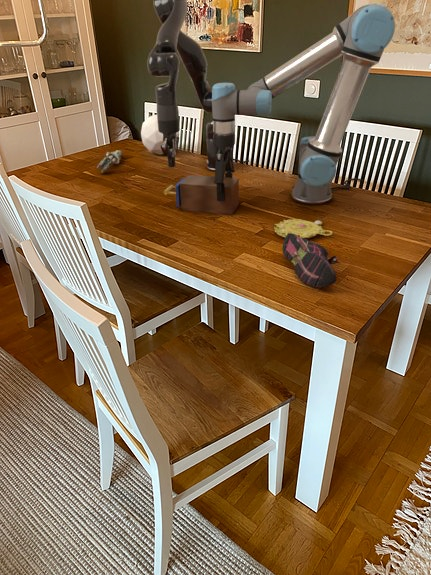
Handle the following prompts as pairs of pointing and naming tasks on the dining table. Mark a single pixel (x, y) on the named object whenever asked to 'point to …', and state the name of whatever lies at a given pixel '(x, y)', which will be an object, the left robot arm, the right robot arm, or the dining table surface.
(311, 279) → the athletic shoe
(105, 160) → the figurine
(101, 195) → the dining table surface
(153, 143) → the sphere
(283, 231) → the decorative object
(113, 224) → the dining table surface
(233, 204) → the cabinet
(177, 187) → the drawer
